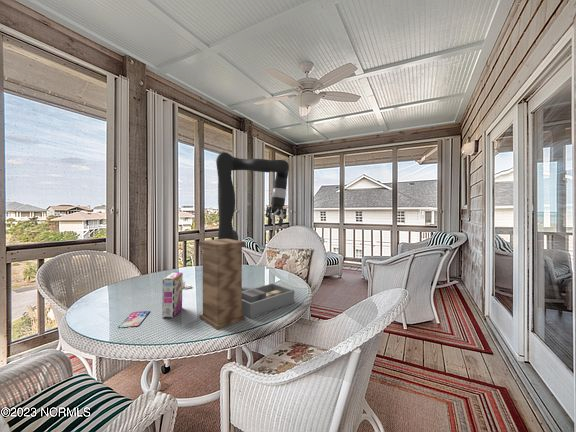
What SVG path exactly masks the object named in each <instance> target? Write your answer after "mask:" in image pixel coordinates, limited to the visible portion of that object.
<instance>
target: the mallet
mask: <svg viewBox="0 0 576 432" xmlns="http://www.w3.org/2000/svg"><path fill="white" fill-rule="evenodd" d="M252 289H253V288H252ZM248 290H249V289H248ZM244 291H245V292H242V299H243V300H245V301H248V302H250V303H253V302H256V301H259V300H262V299H266V298H269V297H272V296H275V295H278V294H282V291H280V290H274V291H271V292H267V293H265V292H263V291H260V290H257V289H253V290H249V291H246V290H244Z"/></svg>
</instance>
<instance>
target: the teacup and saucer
mask: <svg viewBox="0 0 576 432" xmlns="http://www.w3.org/2000/svg"><path fill="white" fill-rule="evenodd" d="M192 287H193V286H192V284H187V285H186V280H182V291H183V290H184V291H185V290H188V289H189V288H192Z"/></svg>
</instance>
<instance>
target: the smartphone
mask: <svg viewBox="0 0 576 432" xmlns="http://www.w3.org/2000/svg"><path fill="white" fill-rule="evenodd" d="M150 313H151V310H148V311H147V310H146V311H145V310H144V311H134V312H132V313H130V314H129V317H128V316H127V318H125V319H124V320H123V322H121V324H120V325H119V326H118V327H117V328H118V329H129V328H128V327H131V328H139V327H140V326H141V325H142V324H143V322H144V321H145V320H146V319H147V317H148V316H149V315H150Z"/></svg>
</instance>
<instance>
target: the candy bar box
mask: <svg viewBox="0 0 576 432" xmlns="http://www.w3.org/2000/svg"><path fill="white" fill-rule="evenodd" d="M183 274H184V273H183V272H171V273H170V274H168V275H166V276H165V277H163V279H162V314H161V315H162V319H166V318H169V319H172V318H173V319H174V318H175V316H177V315H178V313H180V312H179V311H181V310H182V308H183V290H182V289H183V288H182V281H183Z"/></svg>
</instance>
